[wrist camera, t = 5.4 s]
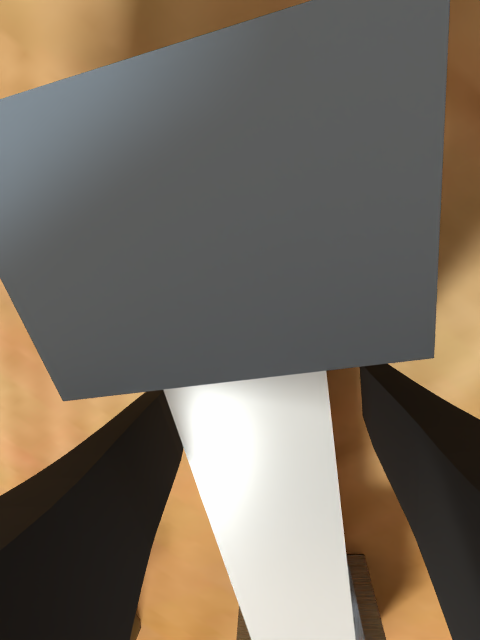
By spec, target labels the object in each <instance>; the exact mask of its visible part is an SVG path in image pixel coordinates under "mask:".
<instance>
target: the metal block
mask: <svg viewBox="0 0 480 640" xmlns="http://www.w3.org/2000/svg"><path fill="white" fill-rule="evenodd" d="M346 557H347V566H348V575H349V584H350V594H351V603H352V612H353V621H354V630H355V639H356V640H386V637H385V633H384V629H383V625H382V622H381V618H380V614H379V610H378V606H377V602H376V598H375V595H374V591H373V587H372V583H371V579H370V575H369V571H368V568H367V564H366V560H365V556H364V555H346ZM237 640H251V637H250V634H249V632H248V629H247V626H246V623H245V620H244V617H243V615H242V612H241V609H240V606H239V615H238V628H237Z"/></svg>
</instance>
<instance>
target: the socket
mask: <svg viewBox="0 0 480 640" xmlns="http://www.w3.org/2000/svg"><path fill="white" fill-rule="evenodd" d="M449 12H450V0H311V1H308V2H305V3H302V4H299V5H296V6H292V7H289V8H286V9H283V10H280V11H277V12H274V13H270V14H267V15H264V16H261V17H258V18H255V19H252V20H248V21H245V22H242V23H239V24H236V25H233V26H229V27H226V28H223V29H220V30H217V31H214V32H211V33H207V34H204V35H201V36H198V37H195V38H192V39H189V40H185V41H182V42H179V43H176V44H173V45H170V46H166V47H163V48H160V49H157V50H154V51H151V52H148V53H144V54H141V55H138V56H135V57H132V58H129V59H126V60H122V61H119V62H116V63H113V64H110V65H107V66H104V67H100V68H97V69H94V70H91V71H88V72H85V73H81V74H78V75H75V76H72V77H69V78H66V79H63V80H59V81H56V82H53V83H50V84H47V85H44V86H41V87H37V88H34V89H31V90H28V91H25V92H22V93H18V94H15V95H12V96H9V97H6V98H3V99H0V278H1V280H2V282H3V284H4V286H5V288H6V290H7V292H8V294H9V296H10V298H11V300H12V302H13V304H14V306H15V308H16V310H17V312H18V314H19V316H20V318H21V320H22V322H23V324H24V326H25V328H26V329H27V331H28V333H29V335H30V337H31V339H32V341H33V343H34V345H35V347H36V349H37V351H38V353H39V355H40V357H41V359H42V361H43V363H44V365H45V367H46V369H47V371H48V373H49V375H50V377H51V379H52V381H53V383H54V384H55V386H56V388H57V390H58V392H59V394H60V396H61V398H62V400H63V401H70V400H78V399H87V398H95V397H104V396H113V395H121V394H130V393H138V392H147V391H155V390H164V389H173V388H181V387H190V386H198V385H207V384H216V383H224V382H233V381H241V380H250V379H258V378H267V377H276V376H284V375H293V374H301V373H310V372H319V371H327V370H336V369H344V368H353V367H361V366H370V365H379V364H387V363H396V362H404V361H413V360H422V359H430V358H434V347H435V324H436V302H437V280H438V257H439V235H440V213H441V190H442V168H443V146H444V123H445V101H446V79H447V56H448V34H449Z"/></svg>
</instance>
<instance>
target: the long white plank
mask: <svg viewBox="0 0 480 640" xmlns="http://www.w3.org/2000/svg"><path fill="white" fill-rule="evenodd" d="M164 393H165V396H166V399H167V402H168V405H169V407H170V410H171V413H172V416H173V419H174V422H175V424H176V427H177V430H178V433H179V436H180V439H181V441H182V444H183V447H184V450H185V453H186V456H187V458H188V461H189V464H190V467H191V470H192V473H193V475H194V478H195V481H196V484H197V487H198V490H199V493H200V495H201V498H202V501H203V504H204V507H205V510H206V512H207V515H208V518H209V521H210V524H211V527H212V529H213V532H214V535H215V538H216V541H217V544H218V546H219V549H220V552H221V555H222V558H223V561H224V563H225V566H226V569H227V572H228V575H229V578H230V580H231V583H232V586H233V589H234V592H235V595H236V597H237V600H238V603H239V606H240V609H241V612H242V615H243V617H244V620H245V623H246V626H247V629H248V632H249V634H250V637H251V640H356V639H355V630H354V621H353V612H352V603H351V594H350V584H349V575H348V566H347V557H346V548H345V538H344V529H343V520H342V511H341V502H340V493H339V483H338V474H337V465H336V456H335V447H334V438H333V428H332V419H331V410H330V401H329V392H328V383H327V373H326V371H319V372H310V373H301V374H293V375H284V376H276V377H267V378H258V379H250V380H241V381H233V382H224V383H216V384H207V385H198V386H190V387H181V388H173V389H164Z"/></svg>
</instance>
